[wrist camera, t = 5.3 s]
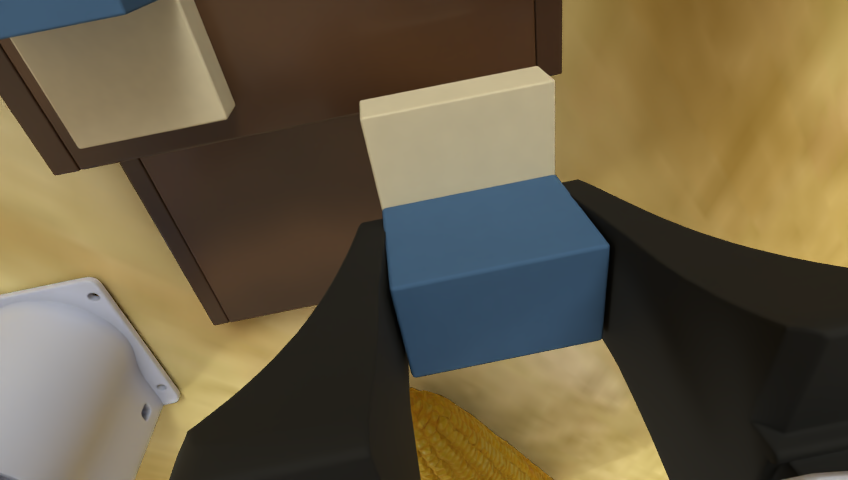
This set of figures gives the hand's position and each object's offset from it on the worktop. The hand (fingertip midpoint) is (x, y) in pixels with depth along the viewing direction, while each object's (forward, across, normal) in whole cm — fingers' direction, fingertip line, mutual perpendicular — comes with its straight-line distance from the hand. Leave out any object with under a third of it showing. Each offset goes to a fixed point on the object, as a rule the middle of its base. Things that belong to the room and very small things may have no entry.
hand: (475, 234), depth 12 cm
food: (+11, 0, +26) cm, 28 cm away
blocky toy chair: (+1, 0, 0) cm, 1 cm away
